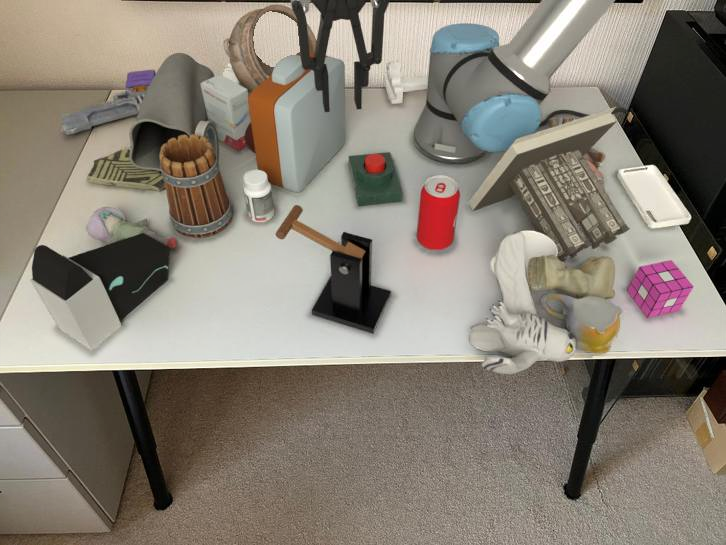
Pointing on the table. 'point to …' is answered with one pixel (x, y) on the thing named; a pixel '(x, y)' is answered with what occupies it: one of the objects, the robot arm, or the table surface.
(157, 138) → the vase
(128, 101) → the handgun
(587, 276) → the sculpture
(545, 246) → the cup
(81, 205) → the table surface
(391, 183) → the button box
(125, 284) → the decorative object
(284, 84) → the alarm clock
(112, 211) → the toy
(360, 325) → the bracket
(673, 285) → the puzzle toy
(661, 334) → the table surface
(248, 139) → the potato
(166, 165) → the mug
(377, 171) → the button
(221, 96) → the ink box
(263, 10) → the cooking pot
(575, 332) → the mug
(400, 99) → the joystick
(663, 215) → the phone case
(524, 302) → the toy
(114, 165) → the pottery shard
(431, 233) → the beverage can
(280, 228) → the lever
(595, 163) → the figurine
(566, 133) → the building model
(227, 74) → the toy car
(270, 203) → the pill bottle
